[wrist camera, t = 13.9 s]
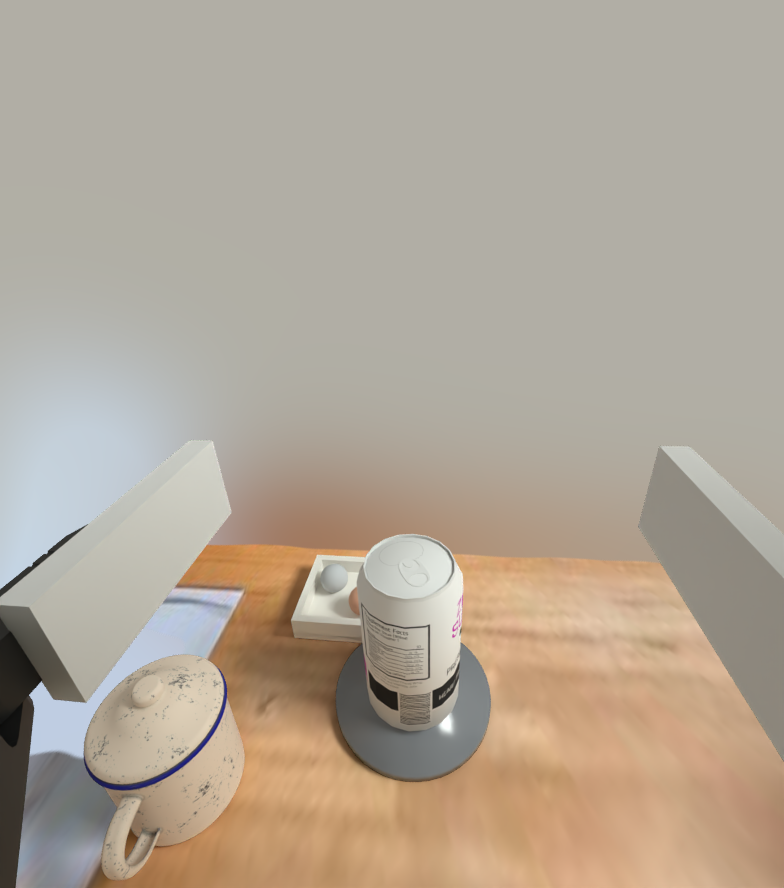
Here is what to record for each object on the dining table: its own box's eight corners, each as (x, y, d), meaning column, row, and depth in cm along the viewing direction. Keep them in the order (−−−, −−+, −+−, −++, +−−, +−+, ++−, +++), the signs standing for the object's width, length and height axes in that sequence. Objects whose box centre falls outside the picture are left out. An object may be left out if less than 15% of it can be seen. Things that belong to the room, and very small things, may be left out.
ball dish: (397, 575, 53) (397, 559, 52) (387, 644, 44) (386, 627, 43) (319, 570, 54) (317, 554, 53) (294, 637, 46) (290, 620, 44)
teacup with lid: (161, 720, 38) (119, 630, 33) (262, 719, 38) (235, 628, 33) (69, 912, 28) (-16, 823, 22) (208, 912, 27) (156, 822, 22)
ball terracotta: (380, 600, 49) (379, 579, 47) (376, 623, 46) (374, 601, 44) (353, 598, 49) (350, 577, 48) (347, 621, 46) (344, 599, 45)
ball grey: (351, 578, 52) (349, 558, 50) (345, 599, 49) (343, 578, 47) (325, 577, 52) (322, 557, 51) (318, 597, 49) (315, 576, 48)
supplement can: (355, 669, 41) (341, 546, 34) (432, 638, 44) (432, 519, 37) (388, 754, 34) (378, 622, 28) (475, 711, 37) (486, 582, 30)
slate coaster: (484, 635, 45) (484, 630, 44) (497, 792, 32) (498, 786, 32) (353, 626, 47) (352, 621, 46) (318, 771, 34) (317, 765, 34)
